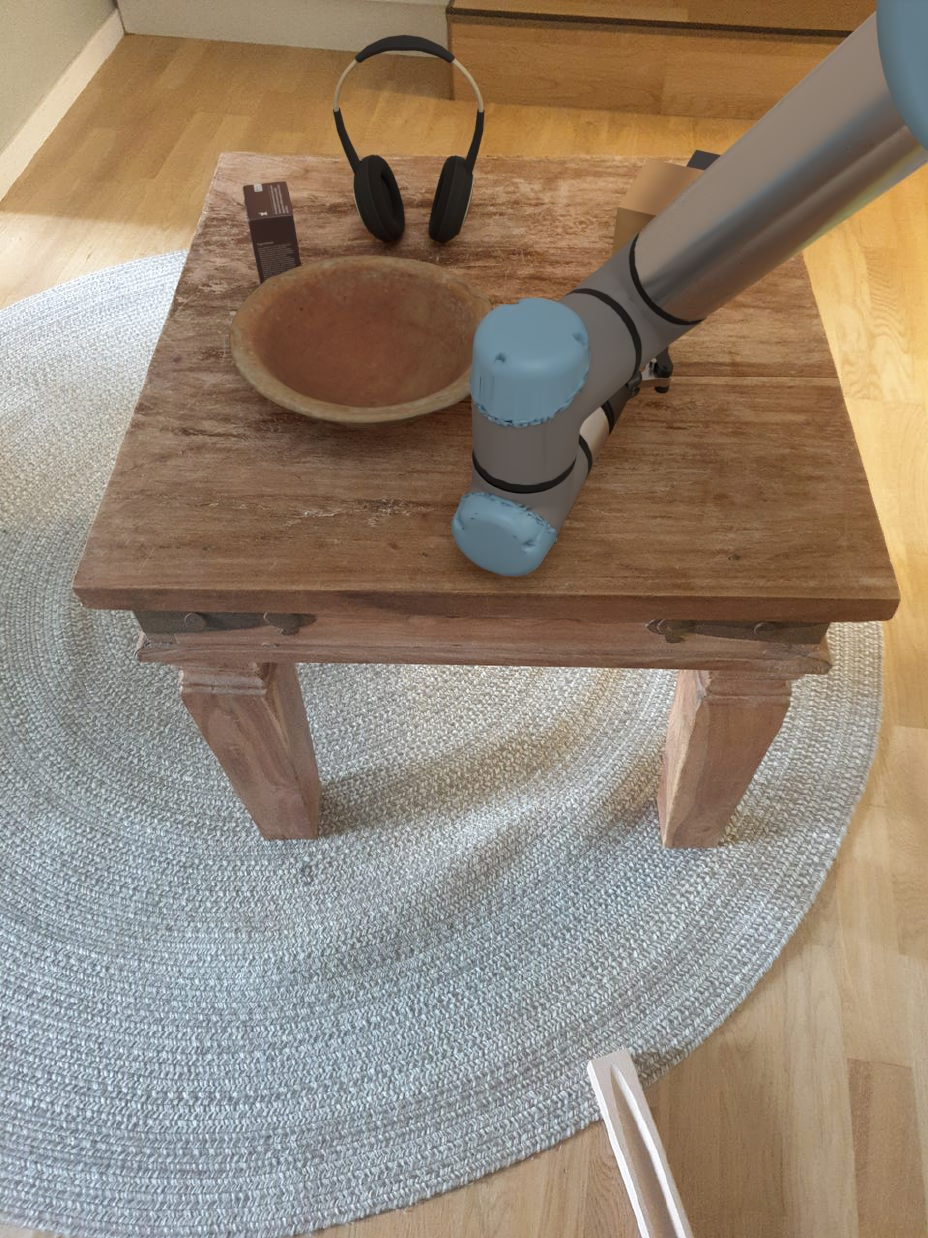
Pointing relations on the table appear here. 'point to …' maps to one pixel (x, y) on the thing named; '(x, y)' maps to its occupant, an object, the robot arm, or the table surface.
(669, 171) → the push block
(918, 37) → the robot arm
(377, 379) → the bowl
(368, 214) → the headphones
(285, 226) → the box
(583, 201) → the table surface
